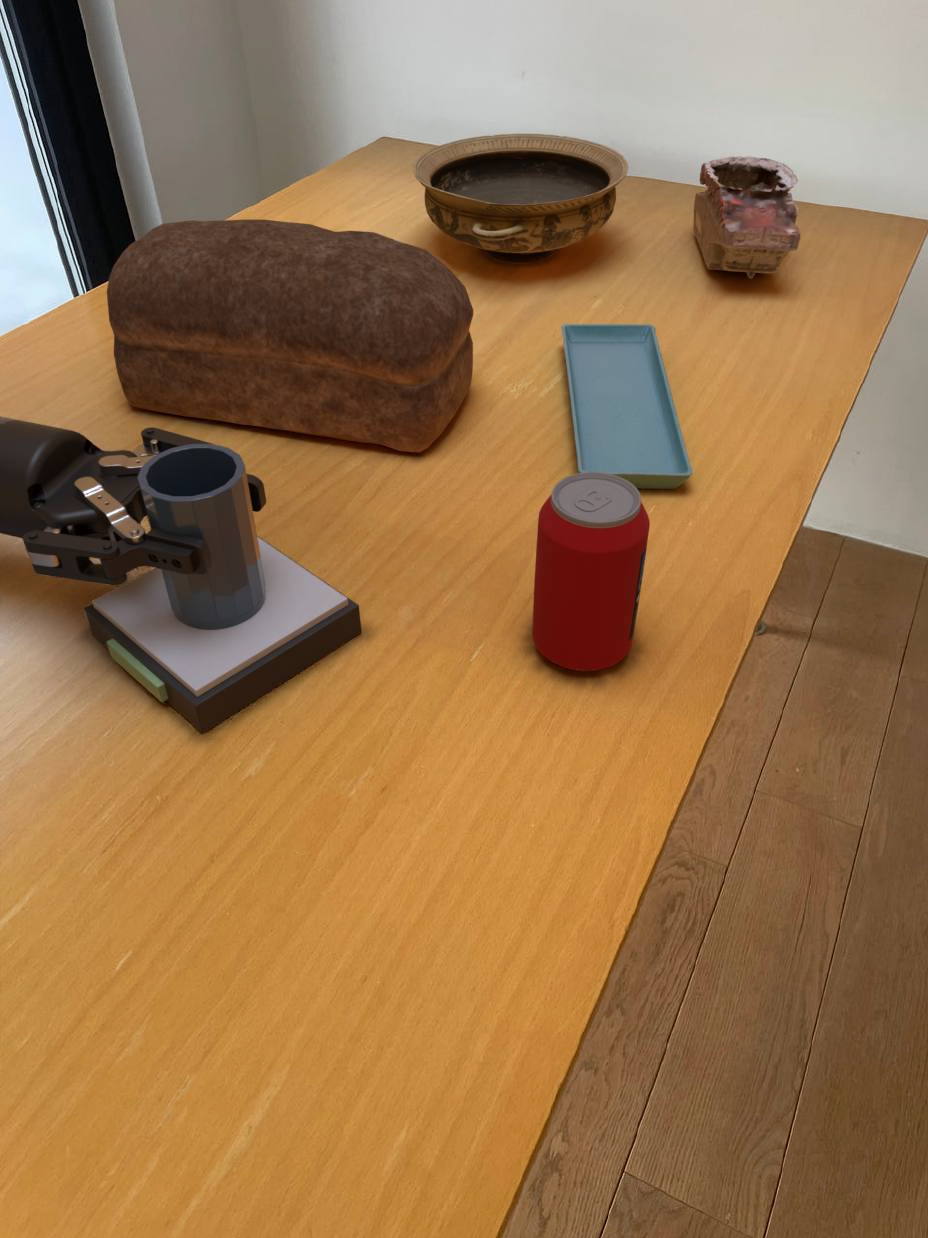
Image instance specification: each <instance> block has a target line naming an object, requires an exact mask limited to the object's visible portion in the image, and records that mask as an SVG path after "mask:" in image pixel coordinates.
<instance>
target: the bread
mask: <svg viewBox="0 0 928 1238" xmlns="http://www.w3.org/2000/svg"><path fill="white" fill-rule="evenodd" d="M110 271H111V272H110V274H109V276H108V282H107V288H106V298H107V299H106V301H107V310H108V321H109V325H110V328H111V330H112V333H113V336H114V337H113V357H114V363H115V368H116V374H117V377H118V381H119V383H120V386H121V389H122V392H123V394H124V397H125V399H126V400H127V401H128V403H129V404H130V405H131V406H132V407H133V408H134V407H135V408H139V409H143V410H147V411H153V412H158V413H164V414H170V415H177V416H183V417H188V418H197V419H205V420H212V421H213V420H214V421H219V422H226V423H232V424H237V425H244V426H255V427H262V428H268V429H274V430H280V431H286V432H291V433H297V434H304V435H309V436H318V437H324V438H330V439H337V440H343V441H350V442H357V443H365V444H374V445H381V446H385V447H387V448H391V449H393V450H396V451H398V452H406V453H407V452H408V453H409V452H410V453H421V452H423V451H426V450H428V449H429V448H430V447H431V445H432V444H433V443H434V442H435V441H436V440H437V439H438V438H439V437H440V436H441V435H442V434H443V432H444V431H445V430H446V428H447V427H448V425H449V424H450V423H451V422H452V419H454V417H455V415H456V414H457V412H458V411H459V409H460V407H461V405H462V404H463V401H465V398H466V396H467V394H468V393H469V391H470V387H471V385H472V380H473V370H474V342H473V338H472V336H471V335H472V334H471V332H470V328H471V325H472V321H473V317H474V308H473V305H472V302H471V300H470V296H469V293H468V290H467V288H466V286H465V285H464V283H463V282H462V281H461V280H460V279H459V278H458V277H457V275H456V274H455V273H454V272H453V271H452V270H451V269H450V268H449V266H447V265H446V264H445V263H444V262H442V261H441V260H440V259H439V258H437V257H436V256H435V255H434V254H433V253H431V252H430V251H429V250H427V248H423V247H420V246H416V245H412V244H409V243H406V242H402V241H399V240H396V239H393V238H391V237H388V236H385V235H382V234H381V233H377V232H374V231H363V230H342V231H334V230H330V229H327V228H324V227H321V226H319V225H318V226H317V225H314V224H311V223H303V222H302V223H301V222H292V221H291V222H290V221H283V220H282V221H281V220H274V219H273V220H272V219H247V218H246V219H245V218H244V219H227V220H224V219H223V220H183V221H182V220H181V221H173V222H165V223H161V224H159V225H157V226H155V227H153V228H152V229H150V230H149V231H148V232H147V233H145V234H144V235H142V236H141V237H140V238H138V239H136V240H134V242H131V244H129V245H128V246H127V247H126V248H125V250H124V251H122V252H121V255H120V256H119V257H118V259H117V260H116V262H115V263H114V265H113V266H112V268H111V270H110Z"/></svg>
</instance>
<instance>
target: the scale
mask: <svg viewBox="0 0 928 1238" xmlns="http://www.w3.org/2000/svg"><path fill="white" fill-rule="evenodd" d="M257 538H258V544H259V549H260V555H261V561H262V567H263V572H264V578H265V584H266V586H265V588H266V599H265V602H264V604H263V606H262V607H261V609H260V610H259V611H258V612H257V613H256V614H255V615H254V616H252V617H251V618H250V619H248V620H246V621H244V622H243V623H240V624H238V625H235V626H232V627H229V628H224V629H217V630H203V629H197V628H193V627H190V626H187V625H185V624H183V623H182V622H180V621H179V620H178V619H177V618H176V617H175V616H174V614H173V612H172V609H171V605H170V602H169V599H168V595H167V591H166V587H165V583H164V579H163V576H162V572H161V569H159V568H154V567H153V569H150V570H148V571H147V572H145V573H143V574H141V575H139V576H137V577H135V578H133V579H131V580H130V581H126V582H124V583H123V584H121V585H119V586H117V587H116V588H114V589H112V590H110V591H108V592H106V593H104V594H102V595H100V596H99V597H97V598H95V599H93V600H91V604H90V603H89V604H88V605H86V606H85V607H83V611H84V614H85V617H86V621H87V623H88V627H89V629H90V632H91V635H92V636H93V637H94V638H95V639H96V640H97V641H98V642H99V643H100V644H101V645H102V646H104V648H106V649H107V650H108V652H109V655H110V658H111V659H113V660H114V661H115V662H116V663H117V664H118V665H119V666H120V667H122V668H123V669H124V670H125V671H126V672H127V673H128V674H129V675H131V677H133V678H134V679H135V680H136V681H137V683H139V684H141V686H142V687H143V688H145V689H146V690H147V691H148V692H149V693H151V694H152V696H153V697H155V698H156V699H157V700H158V701H159V702H161V703H164V702H166V703H167V704H168V705H170V706H171V707H172V708H173V709H174V710H175V711H176V712H177V713H178V714H180V716H182V718H184V719H185V720H186V721H187V722H189V723H190V725H192V726H193V727H194V728H195V729H197V730H198V731H199V732H200V733H201V734H202V735H203V734H205V733H206V732H208V731H210V730H211V729H213V728H215V727H216V726H217V725H219V724H220V723H222V722H225V720H227V719H229V718H230V717H231V716H233V715H235V714H236V713H238V712H239V711H242V710H243V709H244V708H245V707H247V706H249V705H251V704H252V703H254V702H255V701H257V700H258V699H260V698H261V697H263V696H265V695H266V694H267V693H269V692H271V691H272V690H274V689H275V688H277V687H278V686H279V687H280V685H282V684H284V683H285V682H286V681H288V680H289V679H291V678H293V677H294V676H296V675H297V674H299V673H300V672H302V671H305V670H306V669H307V668H309V667H310V666H311V665H313V664H314V663H316V662H318V661H319V660H321V659H322V658H324V657H326V656H327V655H329V654H331V653H332V652H333V651H335V650H336V649H338V648H340V647H341V646H343V645H345V644H346V643H347V642H349V641H351V640H352V639H354V638H355V637H357V636H358V635H360V634H361V633H362V624H361V613H360V605H359V604H358V603H356V602H355V601H354V600H352V599H351V598H349V597H348V596H346V595H345V594H343V592H340V591H339V590H337V589H336V588H335V587H333V586H332V585H331V584H329V583H327V582H326V581H324V580H323V579H322V578H320V577H319V576H317V575H316V574H314V573H313V572H312V571H310V570H308V569H307V568H306V567H304V566H303V565H301V564H300V563H298V562H296V560H294V559H292V558H291V557H290V556H288V555H287V554H285V553H283V552H282V551H281V550H279V549H278V548H276V547H275V546H274V545H272V544H270V543H269V542H268V541H266V540H265V539H263V538H261V537H260V536H259V535H257Z"/></svg>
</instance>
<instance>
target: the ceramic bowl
mask: <svg viewBox="0 0 928 1238" xmlns="http://www.w3.org/2000/svg"><path fill="white" fill-rule="evenodd" d="M412 170H413V174H414V177H415V179H417V181H418V182H419V183H420V184H421V186H422V187H424V195H423V196H424V206H425V210H426V213H427V215H428V217H429V219H430V221H431V222H432V223H433V224H434V225H435V227H436V228H437V229H439V230H440V231H441V232H442V233H444V234H445V235H447V236H448V237H450V238H452V239H454V240H456V241H458V242H460V243H462V244H465V245H468V246H472V247H474V248H478V249H482V250H485V253H486V255H487V256H488V258H490V259H492V260H495V261H498V262H502V263H507V264H516V265H517V264H518V265H519V264H533V263H538V262H542V261H544V260H546V259H547V260H548V259H549V258H551V257H552V256H553V254H554V252H555V250H558V249H561V248H565V247H569V246H571V245H573V244H576V243H579V242H581V241H582V240H585V239H587V238H588V237H590V236H592V235H594V234H595V233H596V232H597V231H599V230H600V229H602V227H603V226H604V225H606V223H607V222H608V221H609V219H610V218H611V216H612V215H613V213H614V209H615V206H616V202H617V189H616V187H617V186H618V185H619V184H620V183H621V182H622V181H623V180H624V179H625V177H626V176H627V173H628V171H629V164H628V162H627V159H625V157H624V156H623V155H622V154H621V153H620V152H618V151H617V150H615V149H613V148H610V147H608V146H606V145H605V144H601V143H598V142H593V141H591V140H586V139H582V138H577V137H572V136H564V135H561V136H560V135H555V134H545V133H544V134H543V133H505V134H503V133H502V134H493V135H481V136H474V137H473V136H472V137H467V138H462V139H457V140H454V141H450V142H447V143H444V144H441V145H438V146H435V147H433V148H431V149H429V150H427V151H426V152H423V154H422V155H420V156H419V157H418V158H417V159H416V160H415V162H414V164H413V168H412Z"/></svg>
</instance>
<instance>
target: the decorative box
mask: <svg viewBox="0 0 928 1238" xmlns="http://www.w3.org/2000/svg"><path fill="white" fill-rule="evenodd" d="M798 181H799V180H798V177H797V175H796V174H795V173H794V170H793V169H791V168H790V166H788V165H787V164H785V163H784V162H783V163H782V162H780V161H778V160H776V159H770V158H766V157H755V156H752V155H751V156H750V155H749V156H729V157H722V158H717V159H712V160H710V161H708V162H704V163H702V165H701V168H700V173H699V184H700V185H702V186H704V185H705V187H706V188H707V189H706V190H705V191H700V192H696V193H695V196H694V202H693V222H692V223H693V224H692V225H693V227H692V232H693V233H694V236H695V238H696V241H697V244H698V245H699V249H700V252H701V255H702V258H703V260H704V264H705V265H706V268H707V269H708V270H716V271H717V270H718V271H728V272H739V273H741V272H743V273H746V275H747V277H748V279H753V278H754V276H755V275H756V273H757V274H758V273H759V274H775V273H776V272H777V270H778V269H779V268H780V266H781V264H782V262H783V261H784V259H785V258H786V257H787V256H788V254H789V253H790V252H793V251H797V250H798V248H799V244H800V240H801V234H802V232H801V230H800V228H799V225H796V222H797V217H798V211H799V207H798V205H797V204H795V202H794V200H793V194H792V192H791V190H792V189H793V188H794V186H796V184H797V183H798ZM830 232H831V233H832V230H831V231H830Z"/></svg>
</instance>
